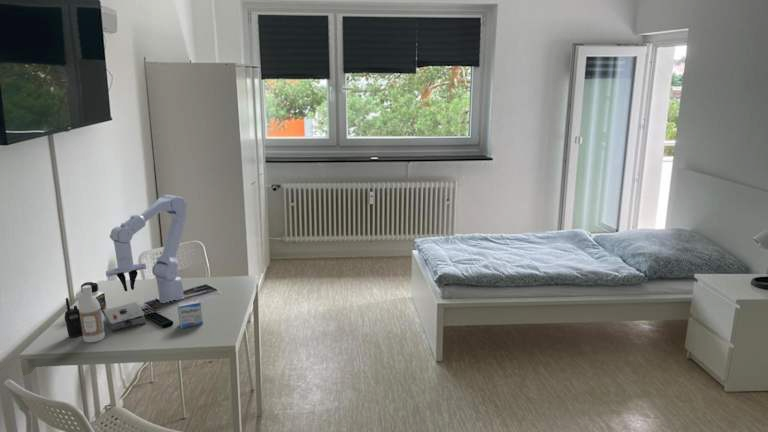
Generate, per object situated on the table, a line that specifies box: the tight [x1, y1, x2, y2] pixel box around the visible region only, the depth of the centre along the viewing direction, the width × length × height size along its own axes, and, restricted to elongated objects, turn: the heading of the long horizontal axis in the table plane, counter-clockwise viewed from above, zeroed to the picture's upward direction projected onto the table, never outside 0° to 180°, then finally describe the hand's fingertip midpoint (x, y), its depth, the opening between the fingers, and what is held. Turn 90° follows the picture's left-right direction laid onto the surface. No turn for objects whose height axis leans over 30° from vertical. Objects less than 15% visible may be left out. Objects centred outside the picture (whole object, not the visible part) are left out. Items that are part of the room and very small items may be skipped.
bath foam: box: [78, 285, 106, 344], centre depth 210 cm, size 7×7×20 cm
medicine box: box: [176, 299, 204, 329], centre depth 222 cm, size 8×4×9 cm, turn 117°
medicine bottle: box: [77, 281, 107, 312], centre depth 237 cm, size 7×7×12 cm
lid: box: [101, 301, 145, 325], centre depth 225 cm, size 12×14×2 cm
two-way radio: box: [64, 297, 83, 339], centre depth 214 cm, size 6×4×15 cm
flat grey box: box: [103, 314, 147, 333], centre depth 226 cm, size 12×19×3 cm, turn 34°
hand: (129, 289), depth 233 cm, fingers closed
